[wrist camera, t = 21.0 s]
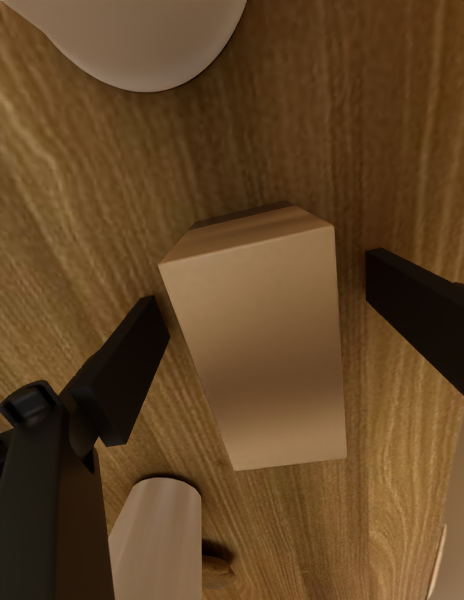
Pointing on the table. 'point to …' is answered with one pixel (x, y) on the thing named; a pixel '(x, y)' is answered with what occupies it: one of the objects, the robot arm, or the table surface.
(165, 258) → the block
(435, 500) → the table surface
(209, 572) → the ginger root
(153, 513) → the cup
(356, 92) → the table surface
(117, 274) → the table surface
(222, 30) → the mug
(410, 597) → the table surface
